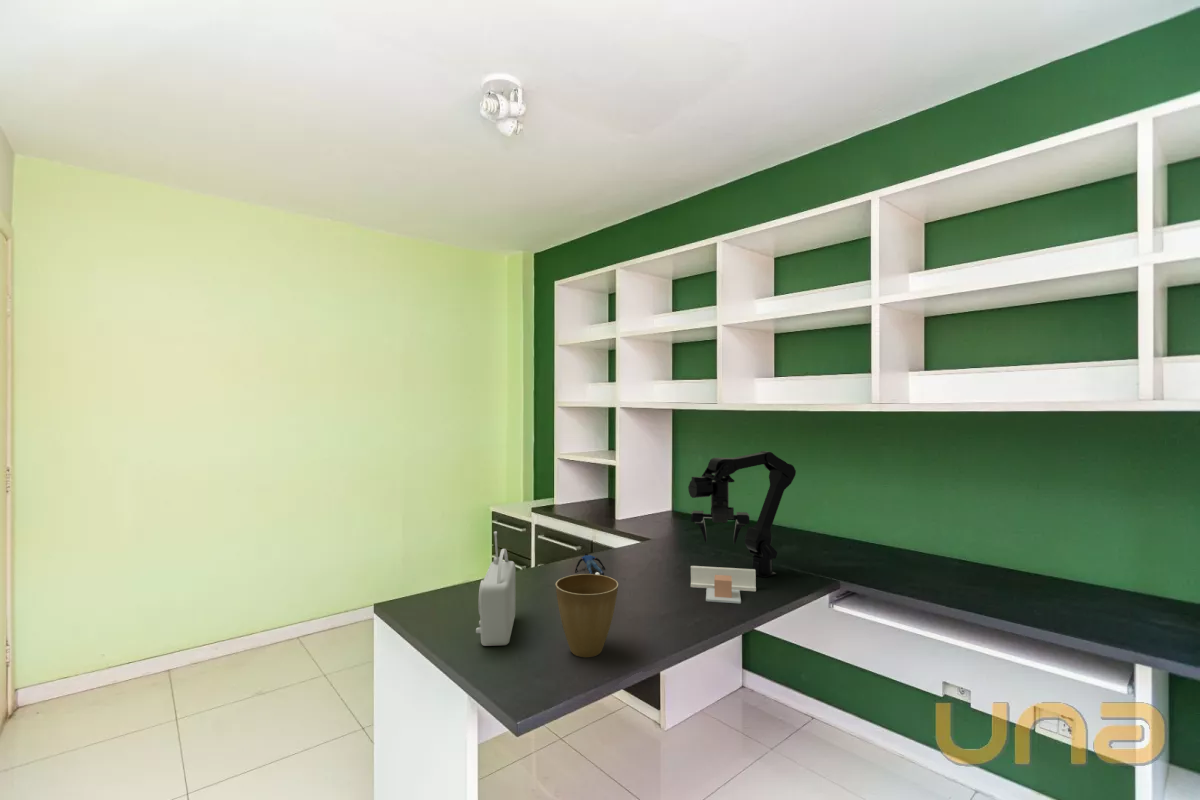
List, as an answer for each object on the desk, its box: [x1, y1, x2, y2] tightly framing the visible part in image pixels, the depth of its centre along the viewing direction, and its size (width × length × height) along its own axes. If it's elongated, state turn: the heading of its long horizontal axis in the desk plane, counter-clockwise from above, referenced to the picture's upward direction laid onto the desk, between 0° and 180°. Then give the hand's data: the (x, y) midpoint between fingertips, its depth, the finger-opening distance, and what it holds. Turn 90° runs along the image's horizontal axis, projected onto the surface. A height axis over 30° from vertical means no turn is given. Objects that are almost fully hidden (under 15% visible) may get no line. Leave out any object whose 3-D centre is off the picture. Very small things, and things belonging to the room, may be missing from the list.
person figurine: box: [574, 552, 606, 576], centre depth 188 cm, size 11×4×18 cm
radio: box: [475, 530, 516, 647], centre depth 140 cm, size 22×8×25 cm, turn 4°
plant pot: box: [555, 573, 619, 658], centre depth 129 cm, size 15×15×16 cm
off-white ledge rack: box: [690, 565, 757, 592], centre depth 173 cm, size 4×20×6 cm, turn 78°
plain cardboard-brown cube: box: [714, 575, 732, 598], centre depth 164 cm, size 5×5×5 cm
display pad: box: [705, 588, 742, 604], centre depth 164 cm, size 10×10×1 cm
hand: (720, 543), depth 180 cm, fingers open, 9 cm apart
